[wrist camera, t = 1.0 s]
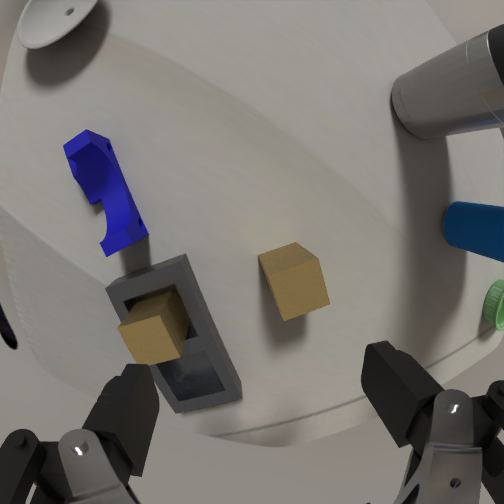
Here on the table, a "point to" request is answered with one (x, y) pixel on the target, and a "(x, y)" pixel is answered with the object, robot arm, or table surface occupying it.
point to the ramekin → (495, 305)
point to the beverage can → (476, 228)
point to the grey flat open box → (196, 342)
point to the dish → (50, 20)
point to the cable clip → (105, 188)
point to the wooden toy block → (294, 280)
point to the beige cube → (156, 327)
